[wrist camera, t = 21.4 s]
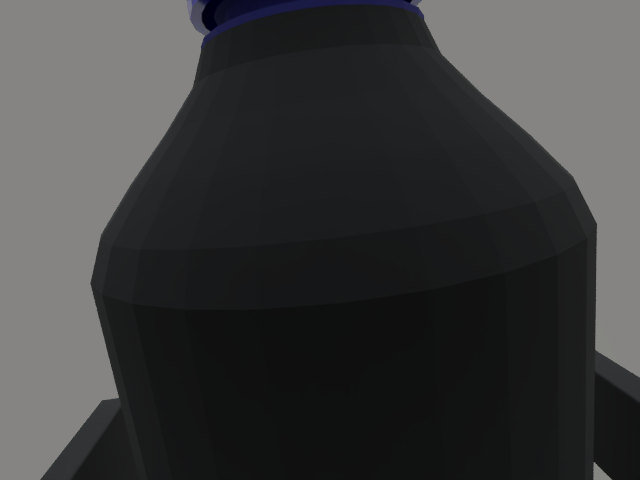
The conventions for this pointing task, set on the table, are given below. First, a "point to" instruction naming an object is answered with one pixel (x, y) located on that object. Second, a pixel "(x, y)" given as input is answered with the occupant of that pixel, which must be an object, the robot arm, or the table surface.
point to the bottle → (348, 266)
